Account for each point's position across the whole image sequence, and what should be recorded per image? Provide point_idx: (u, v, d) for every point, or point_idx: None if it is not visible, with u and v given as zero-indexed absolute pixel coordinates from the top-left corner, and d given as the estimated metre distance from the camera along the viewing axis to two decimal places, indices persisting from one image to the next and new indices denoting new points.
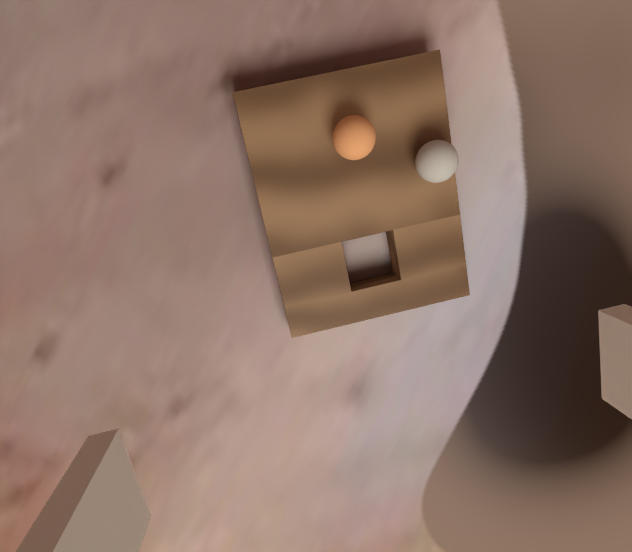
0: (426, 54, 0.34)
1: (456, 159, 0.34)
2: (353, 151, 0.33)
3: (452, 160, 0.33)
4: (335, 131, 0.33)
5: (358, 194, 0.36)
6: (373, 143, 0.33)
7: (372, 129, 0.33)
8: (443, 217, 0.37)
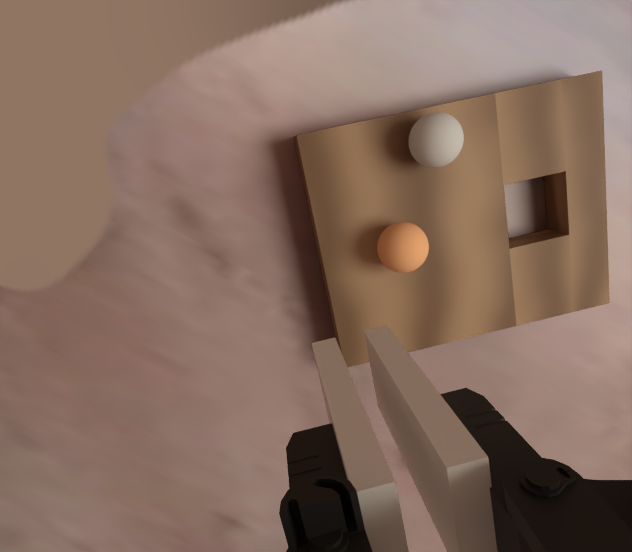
0: (302, 152, 0.28)
1: (442, 120, 0.26)
2: (424, 255, 0.27)
3: (444, 126, 0.25)
4: None
5: (457, 230, 0.30)
6: (414, 228, 0.27)
7: (399, 231, 0.27)
8: (496, 116, 0.29)
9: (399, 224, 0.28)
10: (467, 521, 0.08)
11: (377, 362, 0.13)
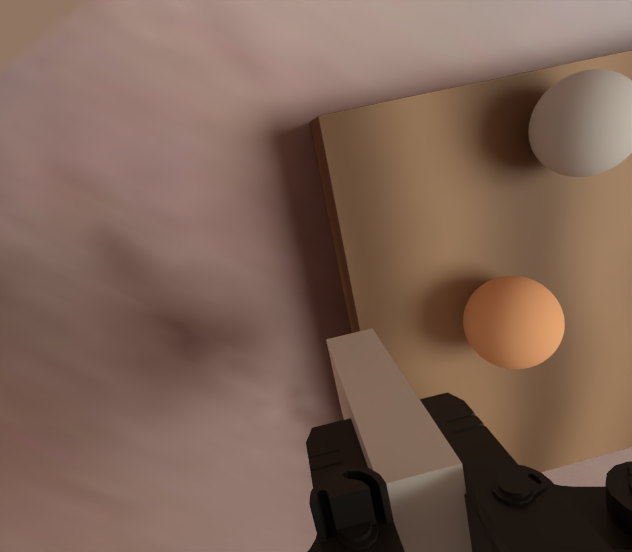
0: (329, 148, 0.15)
1: (615, 83, 0.13)
2: (560, 341, 0.15)
3: (620, 95, 0.13)
4: None
5: (594, 284, 0.17)
6: (541, 292, 0.15)
7: (515, 298, 0.14)
8: None
9: (511, 282, 0.15)
10: (442, 527, 0.08)
11: None
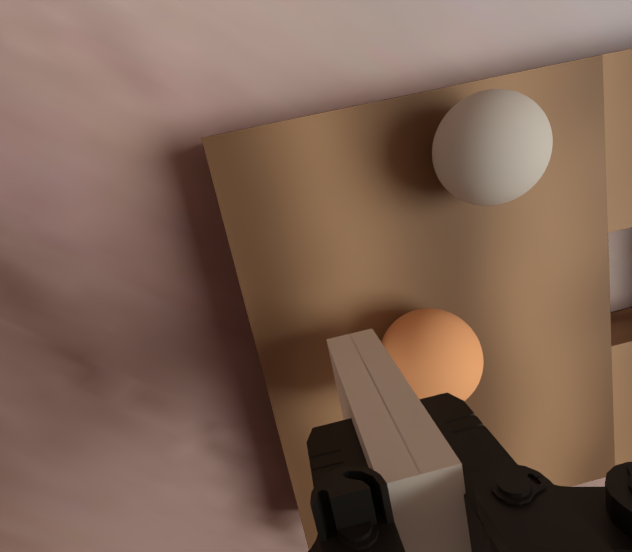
0: (215, 173, 0.14)
1: (512, 105, 0.11)
2: (480, 378, 0.13)
3: (516, 119, 0.11)
4: None
5: (520, 316, 0.16)
6: (458, 326, 0.13)
7: (432, 335, 0.13)
8: (602, 102, 0.15)
9: (426, 317, 0.14)
10: (441, 527, 0.08)
11: None
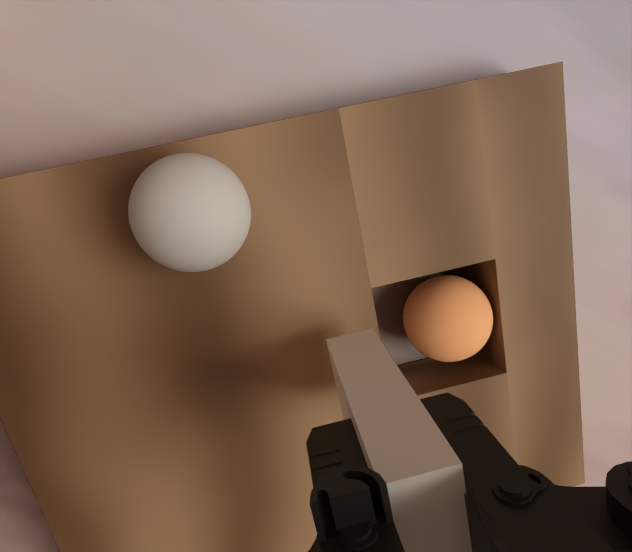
0: None
1: (176, 176, 0.11)
2: None
3: (177, 191, 0.11)
4: (458, 360, 0.16)
5: (285, 373, 0.15)
6: (468, 280, 0.17)
7: (468, 288, 0.16)
8: (345, 156, 0.14)
9: (450, 278, 0.16)
10: (442, 527, 0.08)
11: None
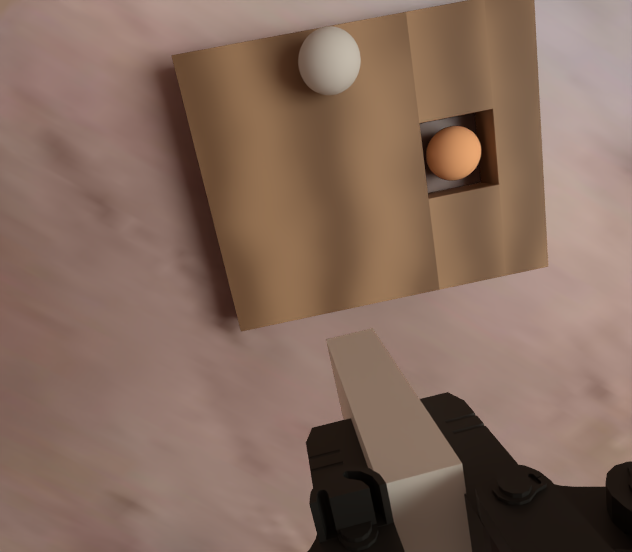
0: (179, 76, 0.24)
1: (330, 33, 0.22)
2: (479, 156, 0.27)
3: (331, 40, 0.22)
4: (454, 177, 0.27)
5: (367, 174, 0.26)
6: (469, 130, 0.27)
7: (462, 130, 0.26)
8: (408, 40, 0.25)
9: (454, 126, 0.27)
10: (442, 527, 0.08)
11: None
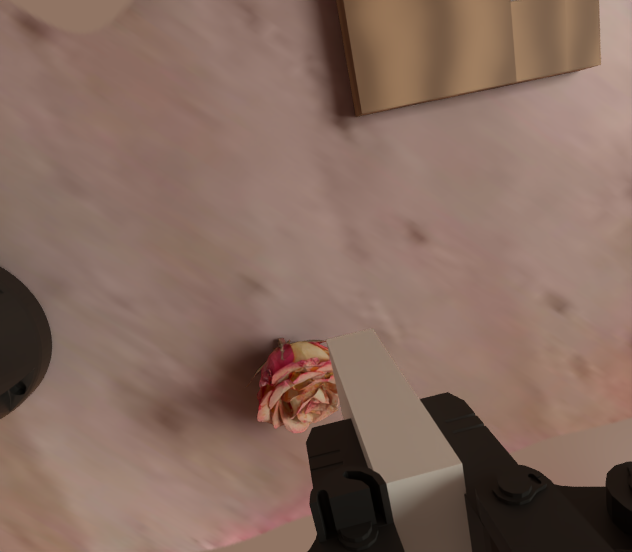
0: None
1: None
2: None
3: None
4: None
5: None
6: None
7: None
8: None
9: None
10: (442, 527, 0.08)
11: None
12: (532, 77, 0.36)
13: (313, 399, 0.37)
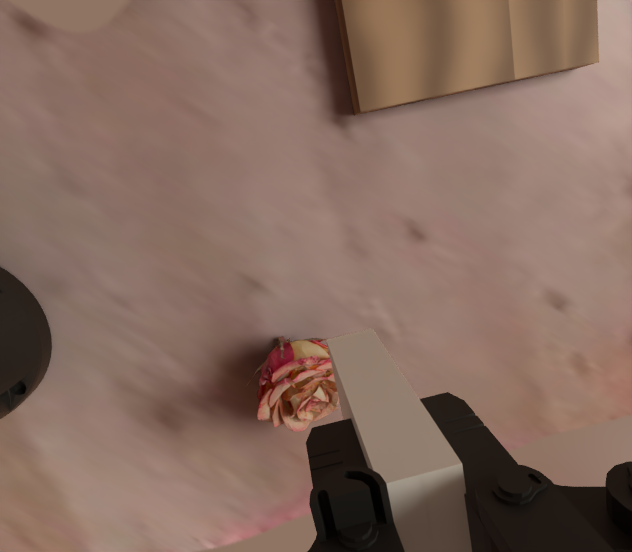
0: None
1: None
2: None
3: None
4: None
5: None
6: None
7: None
8: None
9: None
10: (442, 527, 0.08)
11: None
12: (530, 75, 0.36)
13: (313, 397, 0.37)
